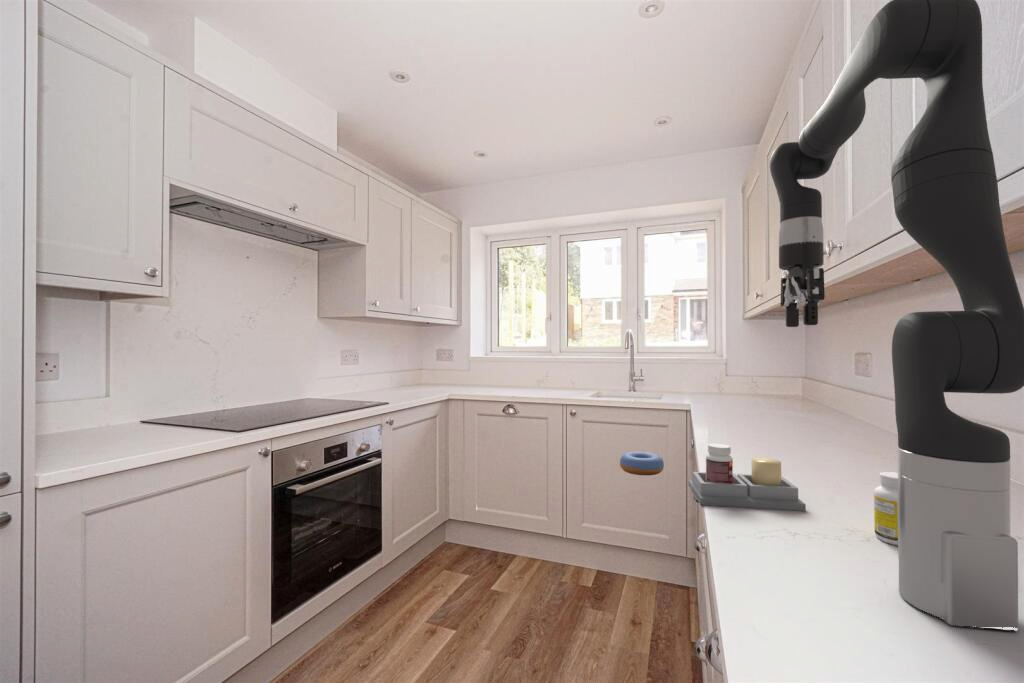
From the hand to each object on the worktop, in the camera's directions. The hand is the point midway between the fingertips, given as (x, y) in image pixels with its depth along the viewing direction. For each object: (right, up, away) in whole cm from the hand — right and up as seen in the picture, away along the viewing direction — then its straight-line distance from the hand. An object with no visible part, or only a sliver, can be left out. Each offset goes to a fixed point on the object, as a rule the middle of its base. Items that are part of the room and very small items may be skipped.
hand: (800, 326), depth 92 cm
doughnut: (-27, -34, +17) cm, 46 cm away
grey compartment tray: (-13, -33, -2) cm, 35 cm away
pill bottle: (-17, -32, -1) cm, 36 cm away
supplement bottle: (+1, -33, -22) cm, 40 cm away
